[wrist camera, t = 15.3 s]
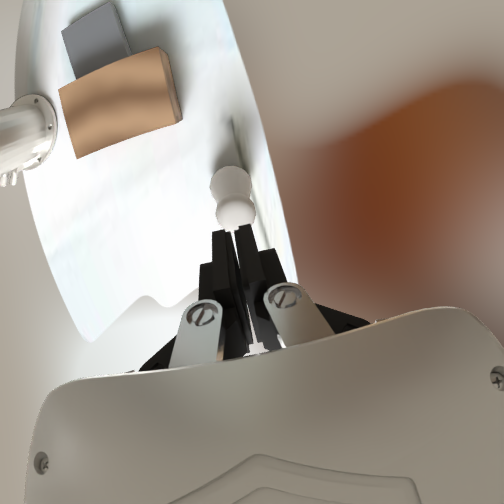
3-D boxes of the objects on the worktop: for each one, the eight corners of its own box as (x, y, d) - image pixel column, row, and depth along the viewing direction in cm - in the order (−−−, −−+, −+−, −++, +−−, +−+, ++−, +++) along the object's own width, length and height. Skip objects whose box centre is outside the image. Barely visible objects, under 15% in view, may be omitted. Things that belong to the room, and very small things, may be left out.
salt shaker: (205, 167, 38) (201, 199, 27) (244, 157, 38) (257, 185, 27) (216, 203, 41) (217, 247, 30) (253, 194, 41) (268, 234, 30)
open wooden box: (182, 119, 34) (175, 123, 28) (96, 148, 34) (76, 159, 28) (167, 54, 29) (158, 46, 23) (80, 88, 29) (58, 89, 23)
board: (147, 91, 31) (141, 91, 29) (99, 116, 32) (91, 118, 29) (116, 6, 23) (109, 1, 20) (70, 34, 23) (61, 31, 21)
